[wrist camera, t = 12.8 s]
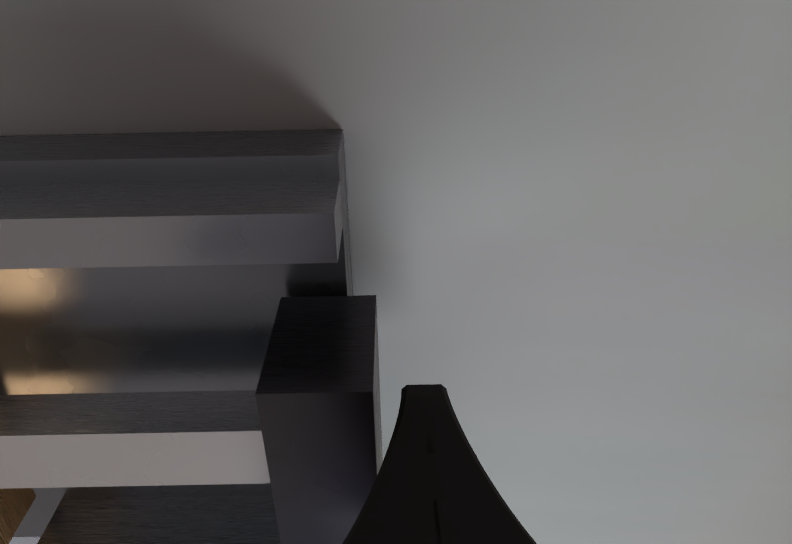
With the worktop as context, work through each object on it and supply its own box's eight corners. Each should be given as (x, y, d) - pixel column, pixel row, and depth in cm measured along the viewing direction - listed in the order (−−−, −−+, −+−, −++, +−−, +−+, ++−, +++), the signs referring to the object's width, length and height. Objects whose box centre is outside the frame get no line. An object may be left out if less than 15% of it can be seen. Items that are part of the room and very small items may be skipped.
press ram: (383, 489, 16) (382, 600, 14) (-61, 498, 16) (-145, 610, 14) (374, 254, 13) (371, 344, 10) (-195, 265, 13) (-342, 358, 10)
